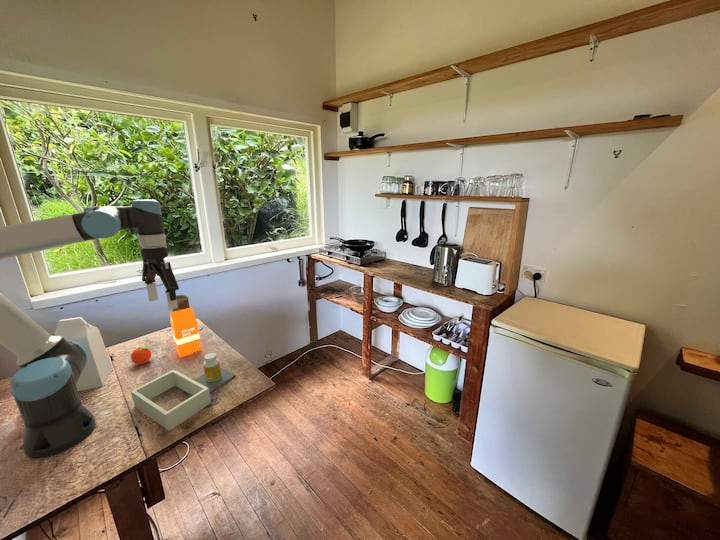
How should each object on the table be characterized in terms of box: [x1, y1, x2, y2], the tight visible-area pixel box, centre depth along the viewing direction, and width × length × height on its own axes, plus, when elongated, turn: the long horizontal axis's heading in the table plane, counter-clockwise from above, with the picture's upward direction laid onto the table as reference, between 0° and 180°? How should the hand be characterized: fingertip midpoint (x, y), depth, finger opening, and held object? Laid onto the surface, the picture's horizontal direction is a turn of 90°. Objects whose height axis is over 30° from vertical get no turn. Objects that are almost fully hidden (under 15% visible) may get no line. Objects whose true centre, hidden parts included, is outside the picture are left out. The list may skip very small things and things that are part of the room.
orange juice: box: [169, 307, 202, 358], centre depth 131 cm, size 8×9×20 cm
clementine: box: [130, 346, 153, 365], centre depth 124 cm, size 8×7×7 cm
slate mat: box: [193, 367, 236, 393], centre depth 114 cm, size 11×11×1 cm
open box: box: [130, 369, 212, 432], centre depth 100 cm, size 14×21×6 cm, turn 60°
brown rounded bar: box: [172, 294, 191, 312], centre depth 146 cm, size 8×7×20 cm
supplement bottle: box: [202, 352, 221, 382], centre depth 113 cm, size 5×5×10 cm
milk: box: [53, 316, 114, 392], centre depth 110 cm, size 12×12×26 cm
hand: (163, 304), depth 106 cm, fingers open, 13 cm apart
